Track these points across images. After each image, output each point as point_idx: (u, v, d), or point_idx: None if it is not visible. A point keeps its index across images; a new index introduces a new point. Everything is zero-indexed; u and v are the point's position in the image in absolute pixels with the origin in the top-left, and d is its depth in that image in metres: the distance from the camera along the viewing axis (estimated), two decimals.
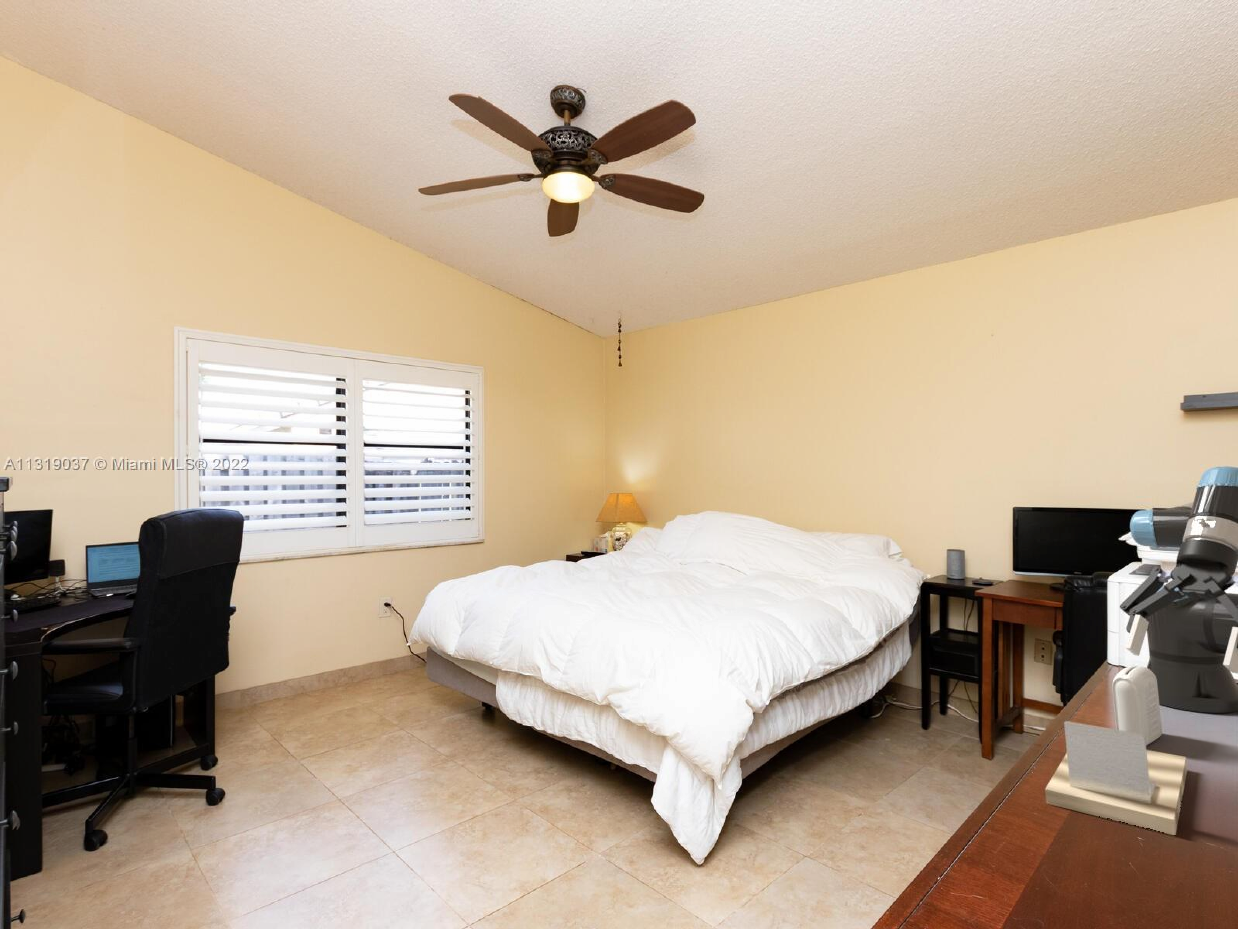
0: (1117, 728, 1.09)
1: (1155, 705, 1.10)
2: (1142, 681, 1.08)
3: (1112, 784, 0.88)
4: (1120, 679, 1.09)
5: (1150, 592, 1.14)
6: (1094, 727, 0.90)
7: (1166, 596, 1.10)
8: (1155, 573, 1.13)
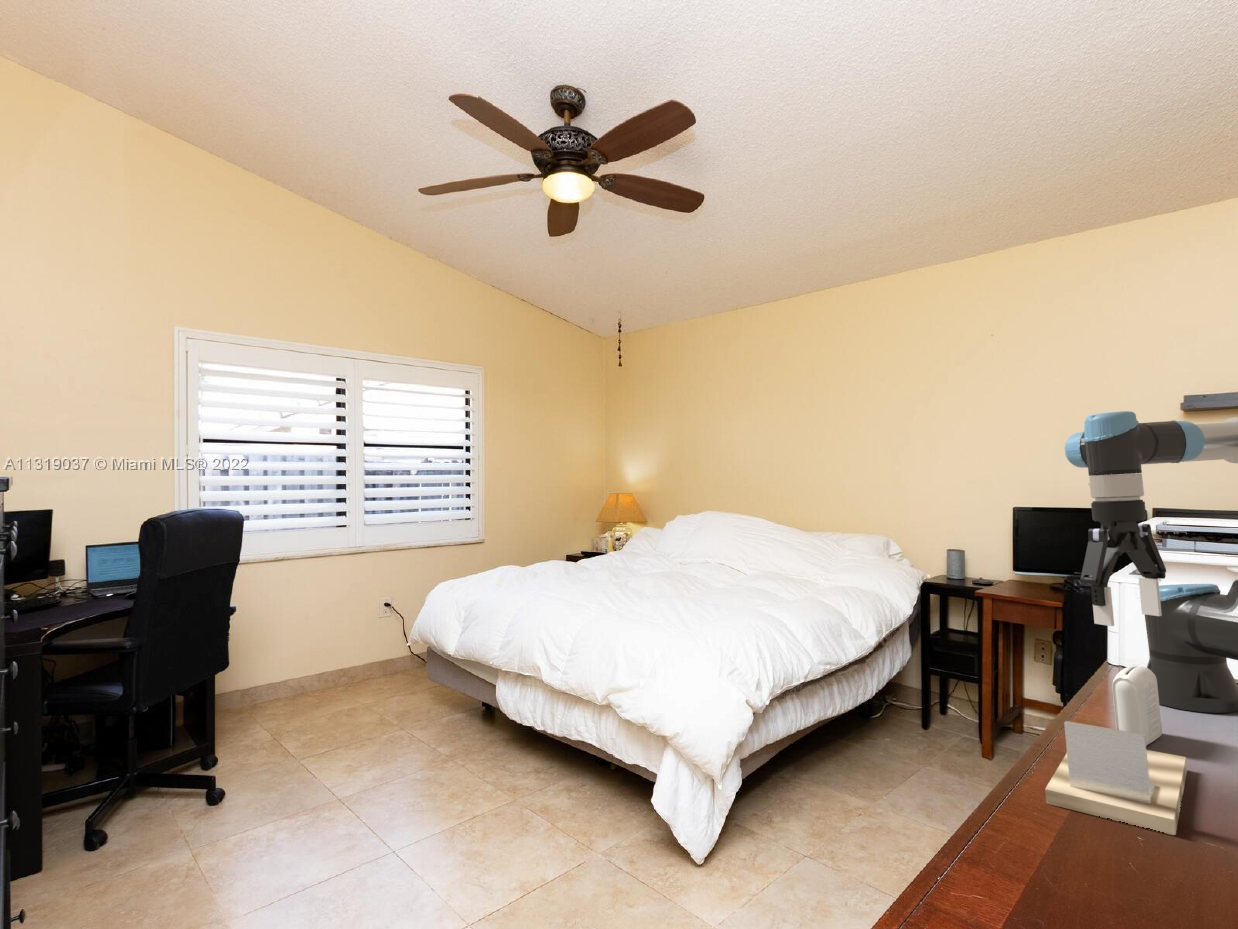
0: (1117, 728, 1.09)
1: (1155, 705, 1.10)
2: (1142, 681, 1.08)
3: (1112, 784, 0.88)
4: (1120, 679, 1.09)
5: (1146, 549, 1.14)
6: (1094, 727, 0.90)
7: (1131, 555, 1.14)
8: None
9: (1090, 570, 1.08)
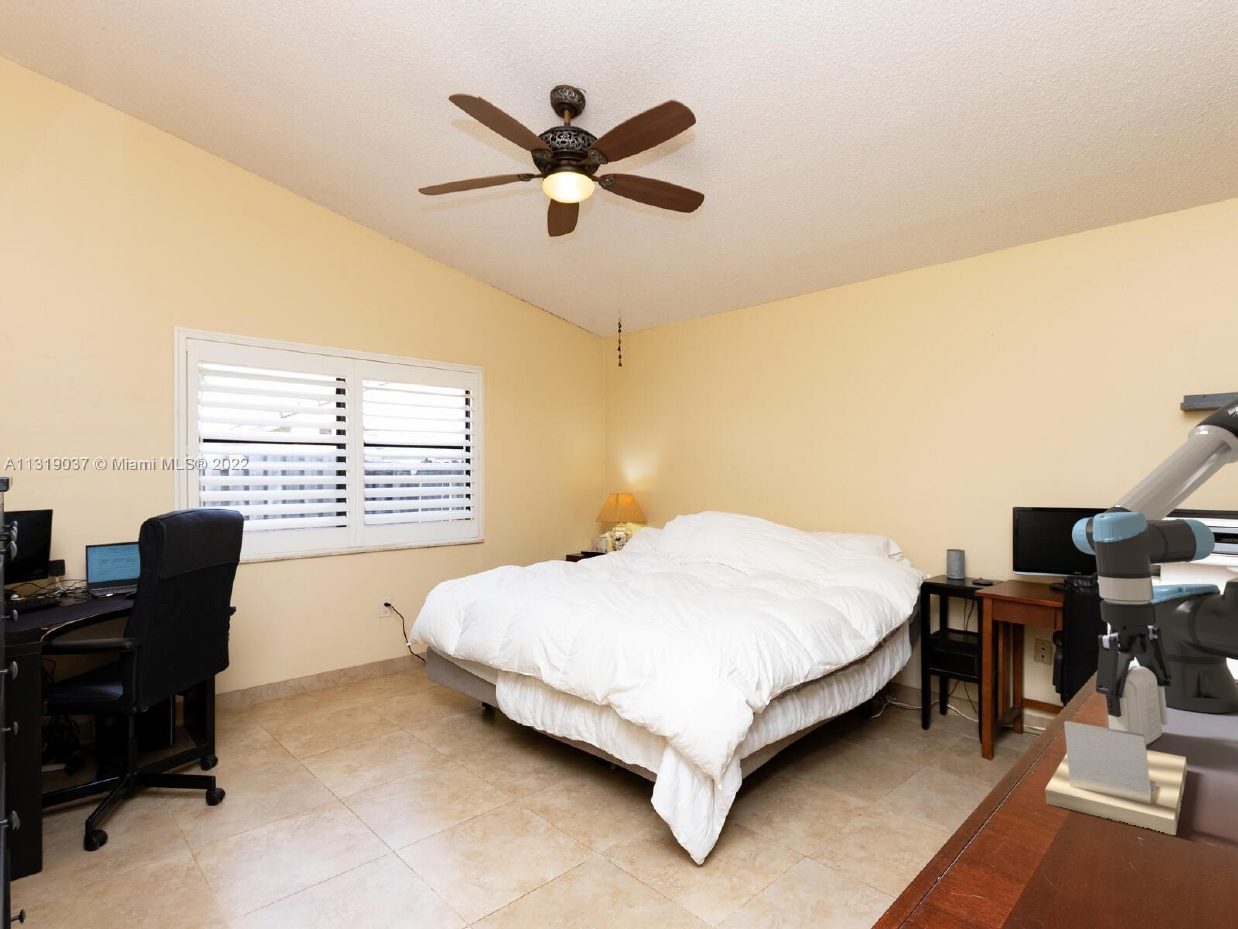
0: None
1: (1155, 705, 1.10)
2: (1142, 681, 1.08)
3: (1112, 784, 0.88)
4: None
5: (1154, 652, 1.13)
6: (1094, 727, 0.90)
7: (1138, 658, 1.13)
8: None
9: (1104, 681, 1.08)
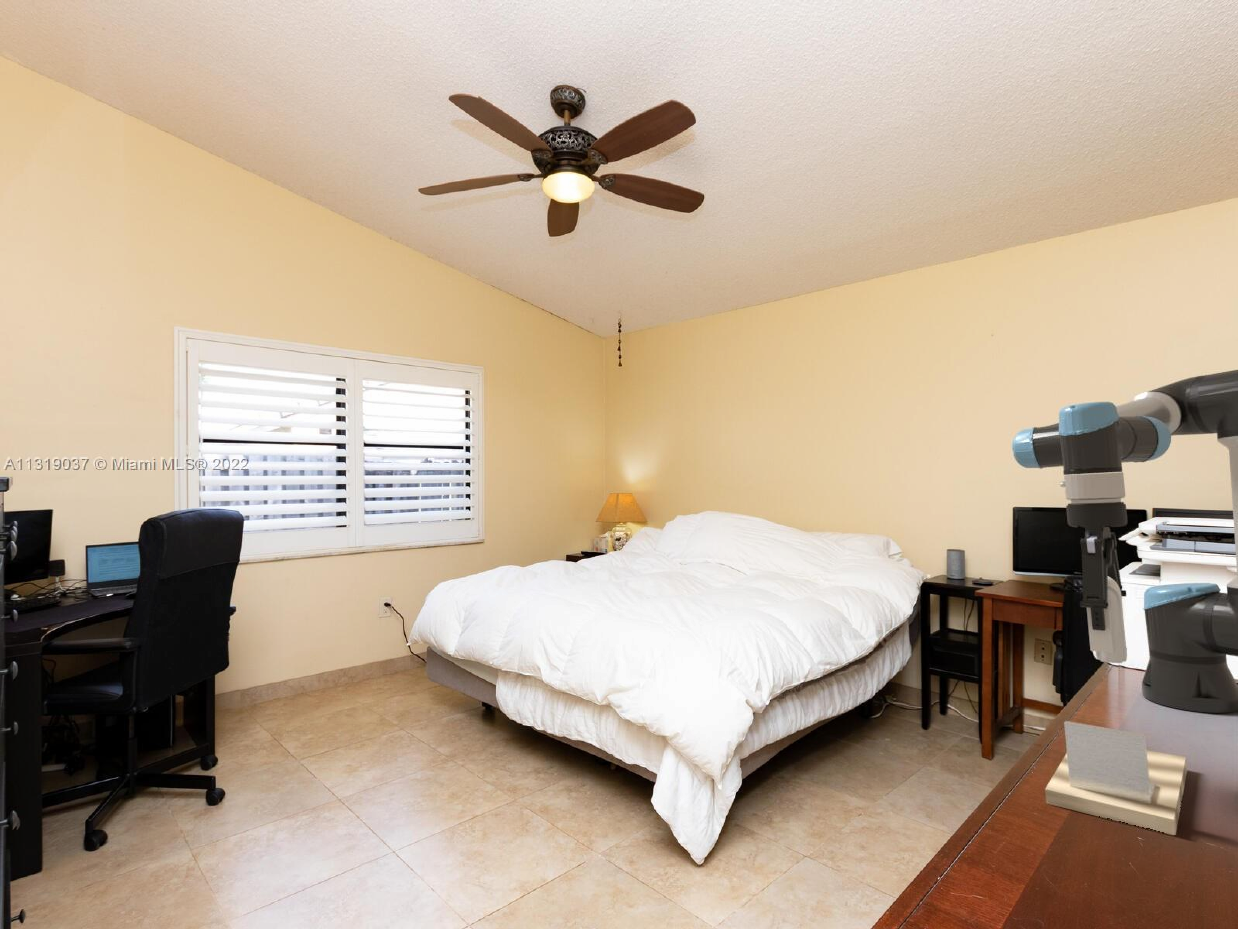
0: None
1: None
2: (1119, 588, 0.96)
3: (1112, 784, 0.88)
4: None
5: None
6: (1094, 727, 0.90)
7: None
8: None
9: (1093, 589, 0.93)
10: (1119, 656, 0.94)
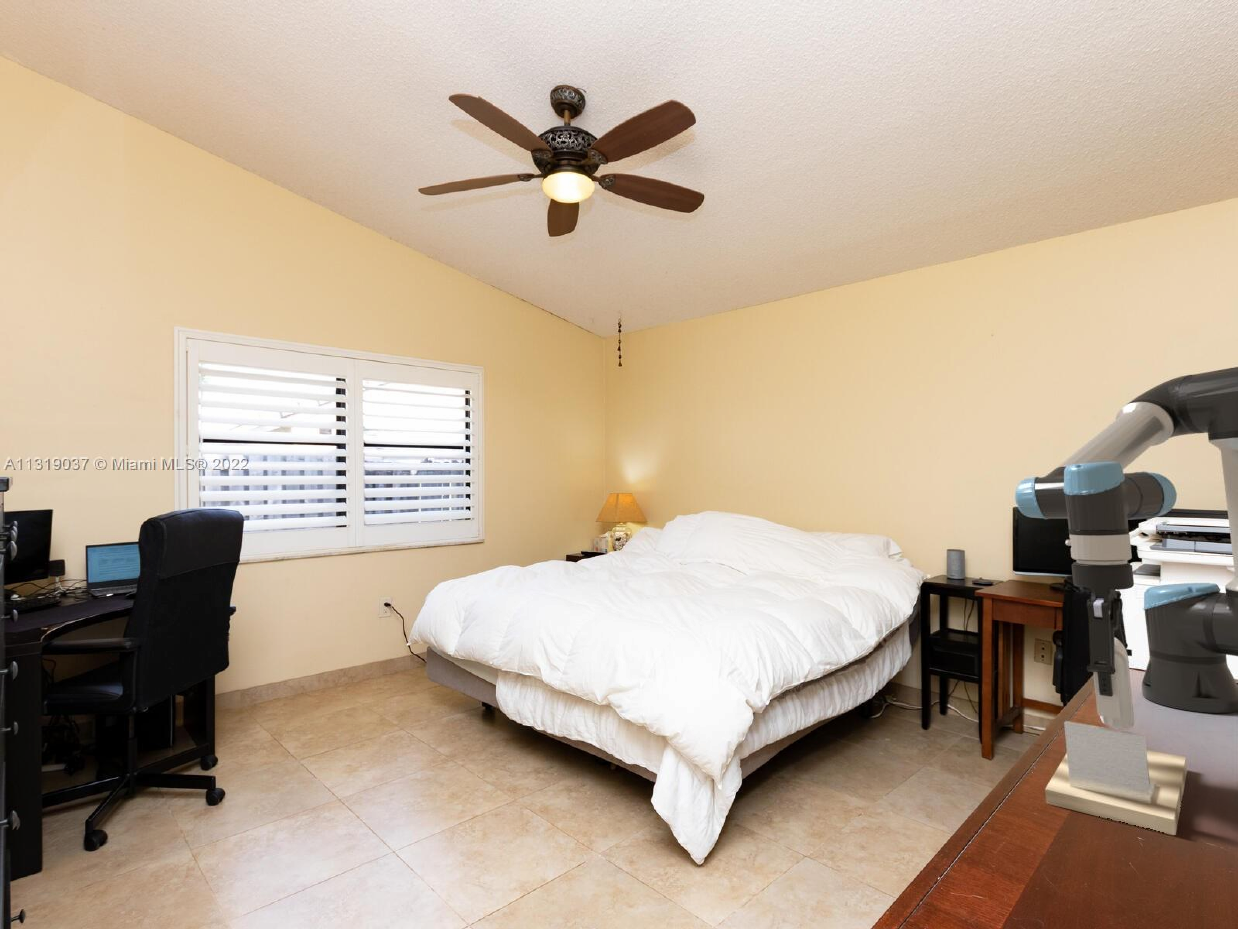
0: None
1: None
2: (1126, 652, 0.95)
3: (1112, 784, 0.88)
4: None
5: None
6: (1094, 727, 0.90)
7: None
8: None
9: (1101, 655, 0.92)
10: (1127, 722, 0.93)
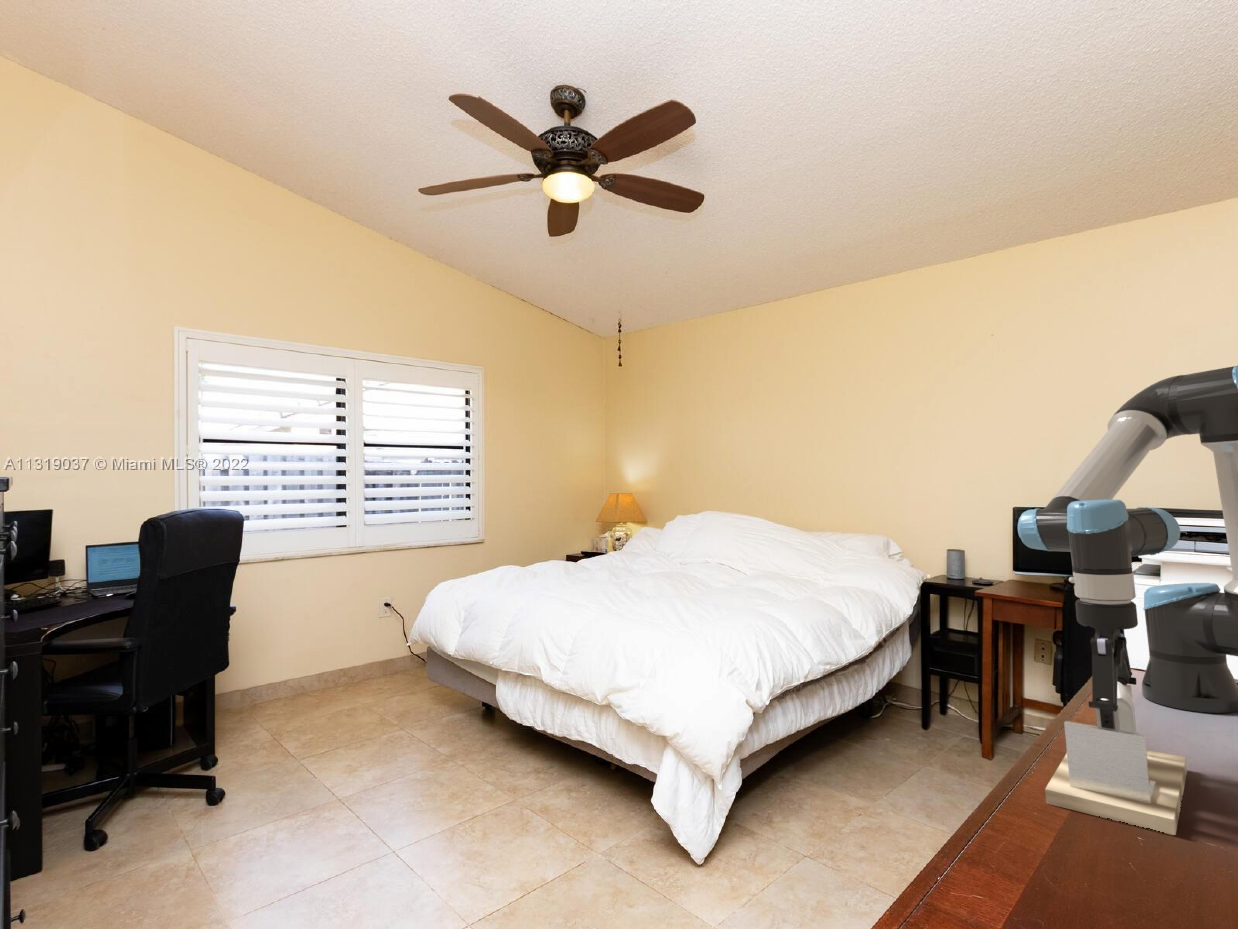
0: None
1: None
2: (1131, 699, 0.95)
3: (1112, 784, 0.88)
4: None
5: None
6: (1094, 727, 0.90)
7: None
8: None
9: (1103, 692, 0.91)
10: None
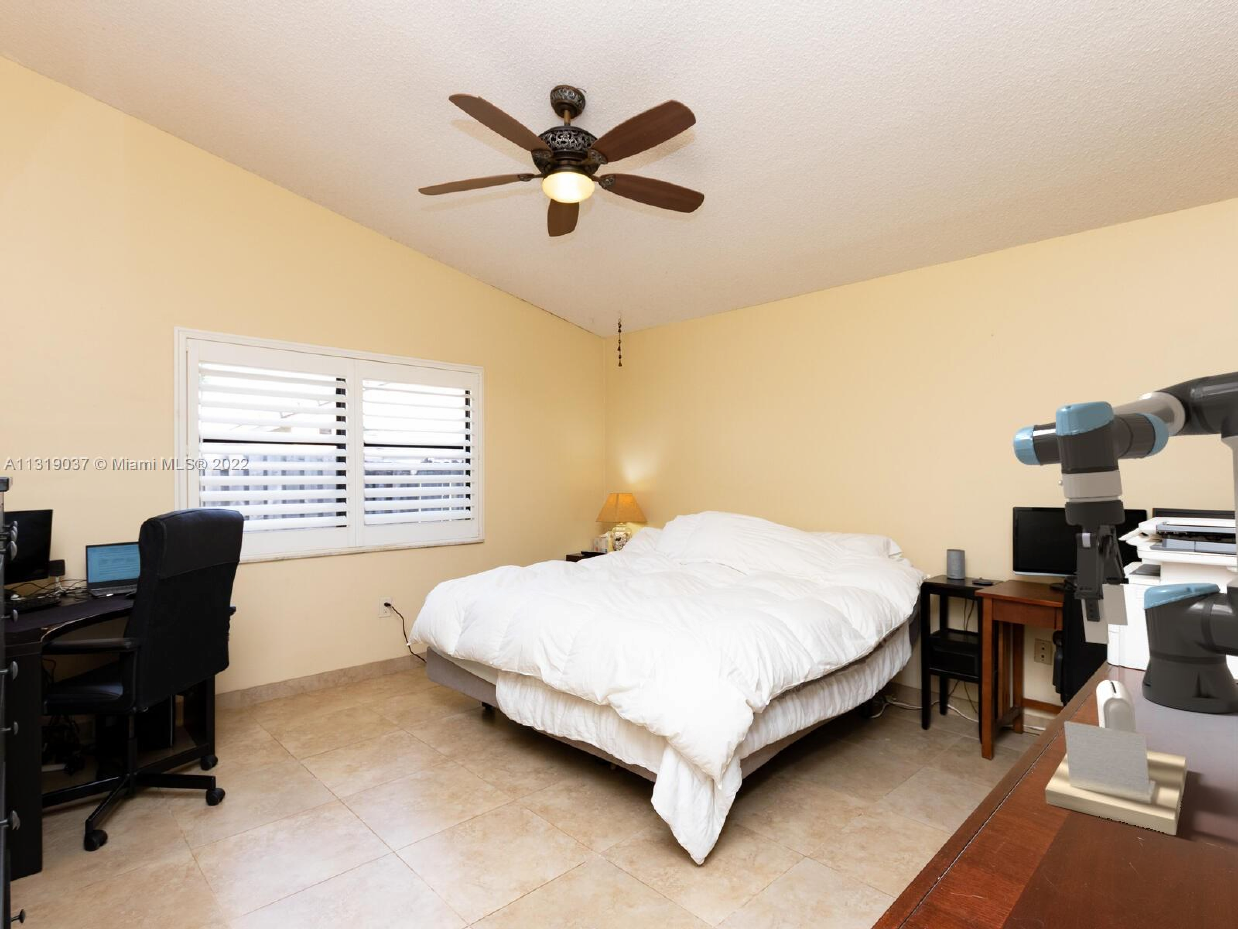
0: None
1: None
2: (1131, 699, 0.95)
3: (1112, 784, 0.88)
4: (1113, 700, 0.94)
5: None
6: (1094, 727, 0.90)
7: None
8: None
9: (1087, 581, 0.94)
10: None
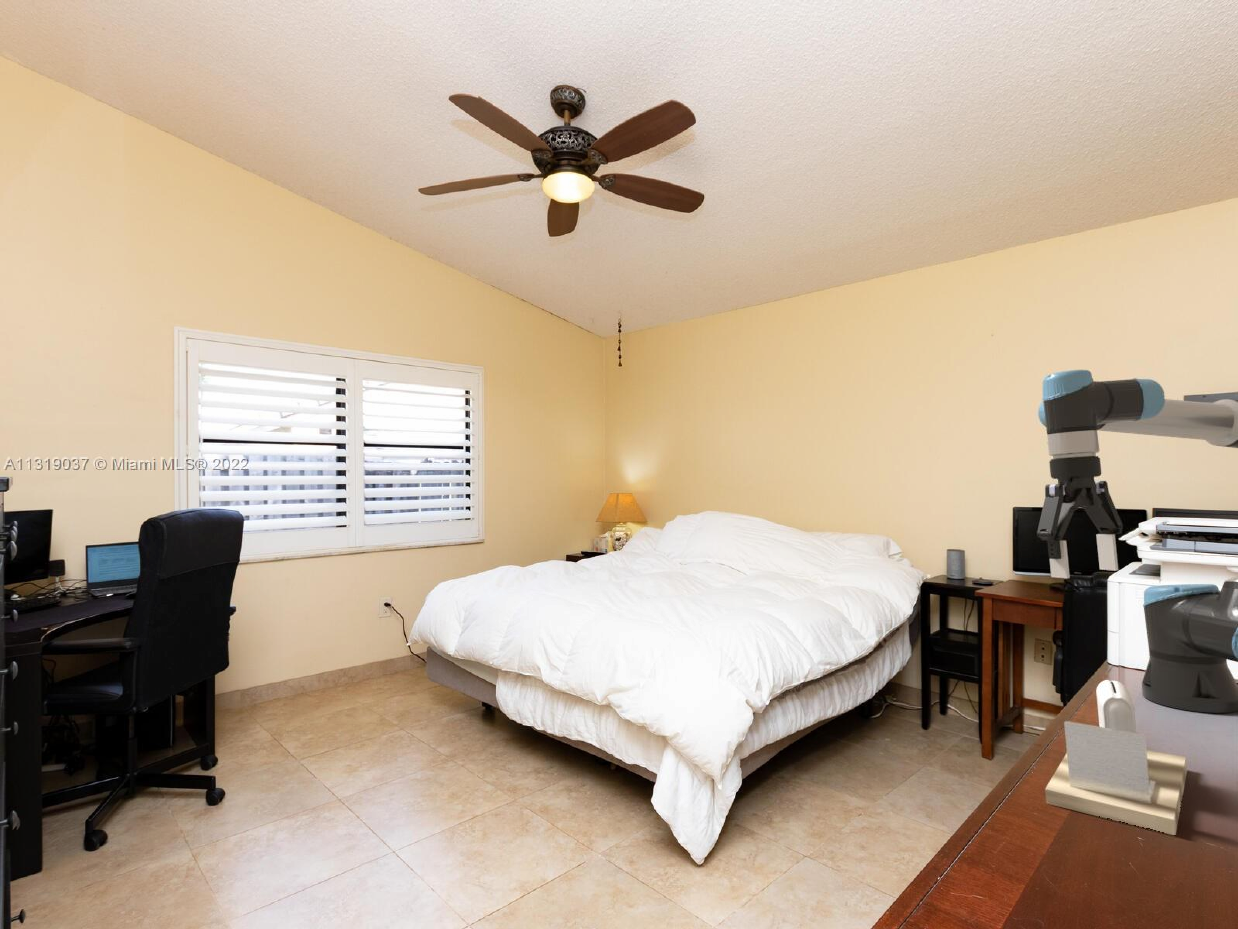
0: None
1: None
2: (1131, 699, 0.95)
3: (1112, 784, 0.88)
4: (1113, 700, 0.94)
5: (1103, 505, 1.17)
6: (1094, 727, 0.90)
7: (1088, 511, 1.17)
8: None
9: (1046, 524, 1.11)
10: None
